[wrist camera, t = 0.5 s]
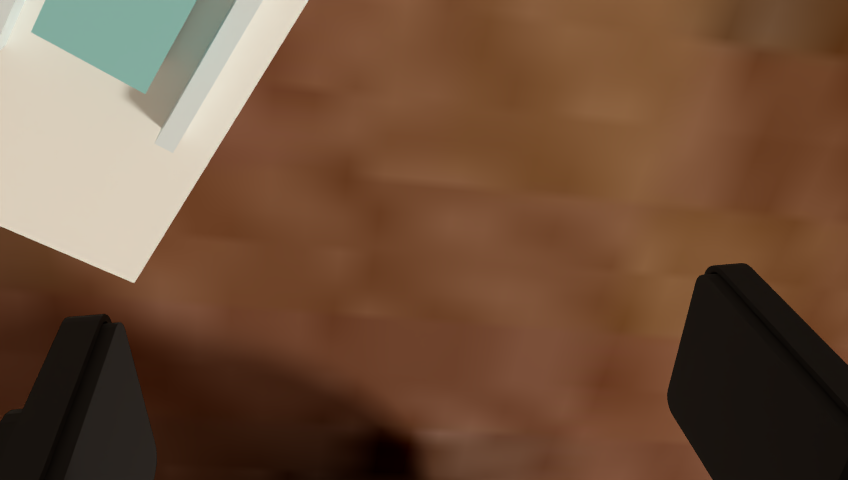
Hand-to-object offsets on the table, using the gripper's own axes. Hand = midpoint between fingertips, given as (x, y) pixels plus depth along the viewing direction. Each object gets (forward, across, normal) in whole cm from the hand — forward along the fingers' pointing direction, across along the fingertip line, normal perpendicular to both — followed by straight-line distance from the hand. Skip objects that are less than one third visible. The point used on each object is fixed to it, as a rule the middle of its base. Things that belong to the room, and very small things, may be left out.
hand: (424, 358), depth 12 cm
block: (+28, +10, 0) cm, 30 cm away
